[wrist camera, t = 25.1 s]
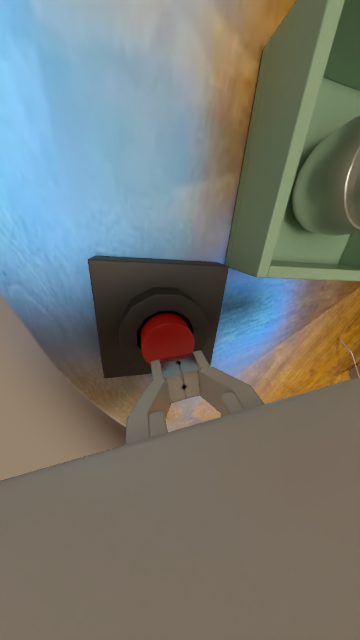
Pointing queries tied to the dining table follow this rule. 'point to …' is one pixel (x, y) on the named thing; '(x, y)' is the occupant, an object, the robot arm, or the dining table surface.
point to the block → (152, 305)
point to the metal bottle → (331, 184)
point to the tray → (297, 143)
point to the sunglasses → (355, 371)
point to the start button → (165, 337)
